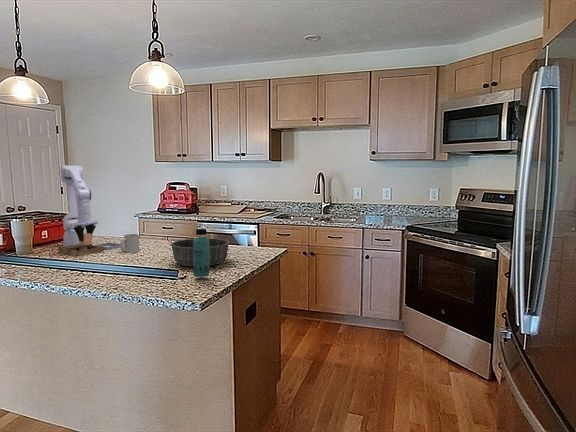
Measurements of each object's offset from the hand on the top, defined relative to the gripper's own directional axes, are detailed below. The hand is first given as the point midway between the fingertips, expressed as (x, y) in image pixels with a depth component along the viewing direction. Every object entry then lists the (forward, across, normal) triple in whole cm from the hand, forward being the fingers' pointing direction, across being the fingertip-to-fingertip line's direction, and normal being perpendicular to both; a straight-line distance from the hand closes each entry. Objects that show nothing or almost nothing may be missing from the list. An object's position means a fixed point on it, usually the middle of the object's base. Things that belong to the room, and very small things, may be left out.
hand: (85, 240), depth 202 cm
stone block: (+2, 0, 0) cm, 2 cm away
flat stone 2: (+6, +3, +7) cm, 10 cm away
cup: (+7, +13, -16) cm, 22 cm away
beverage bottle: (+7, -9, -79) cm, 80 cm away
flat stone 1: (+6, -3, +7) cm, 10 cm away
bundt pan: (+7, +12, -62) cm, 64 cm away
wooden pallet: (+7, 0, +3) cm, 8 cm away
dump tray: (+7, +15, +2) cm, 17 cm away
